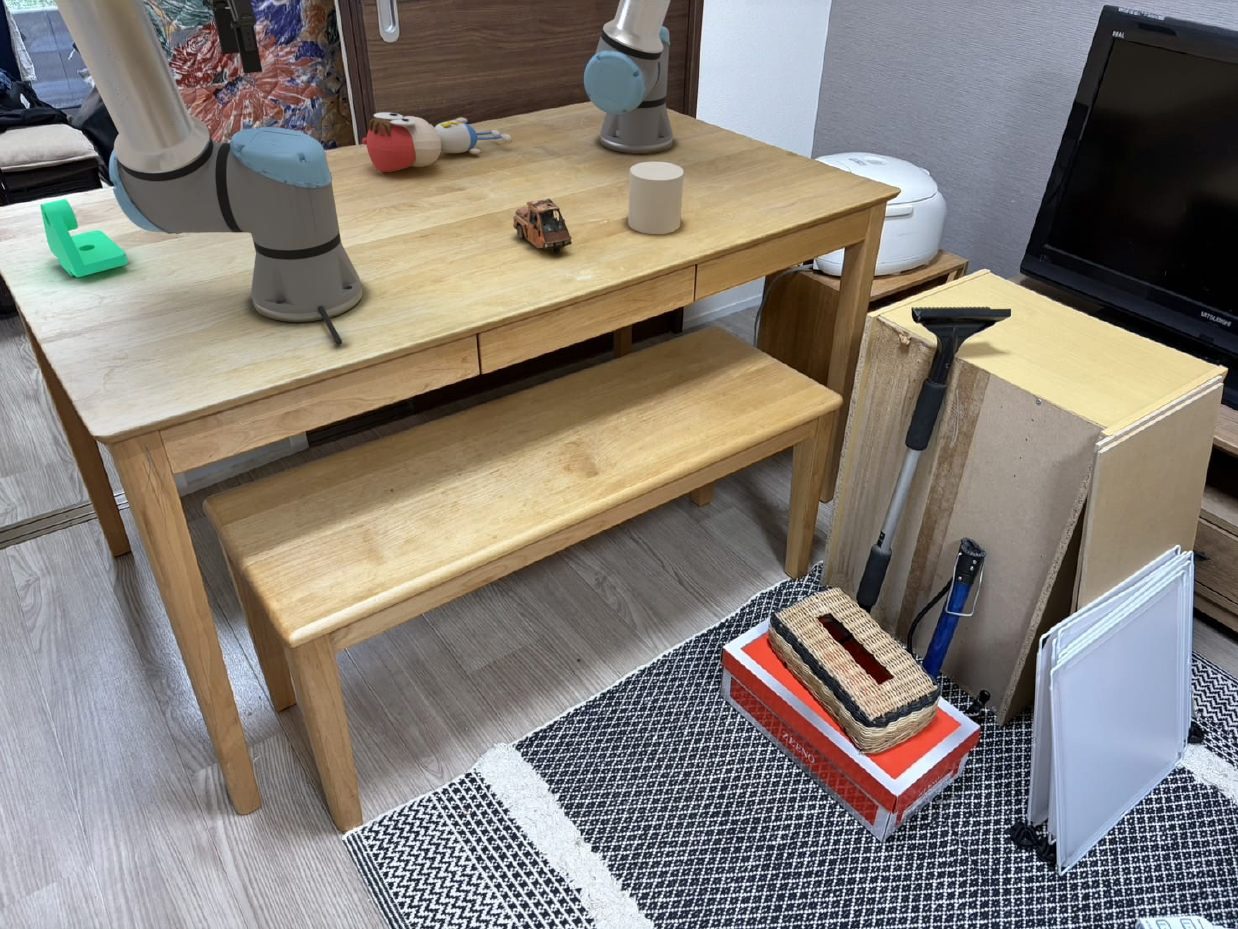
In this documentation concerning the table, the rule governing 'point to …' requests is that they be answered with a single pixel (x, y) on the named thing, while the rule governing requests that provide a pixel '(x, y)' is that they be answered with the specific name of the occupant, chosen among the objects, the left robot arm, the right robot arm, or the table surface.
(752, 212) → the table surface
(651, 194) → the canister
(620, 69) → the right robot arm
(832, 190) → the table surface
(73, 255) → the camera mount
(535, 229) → the toy car
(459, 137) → the toy
